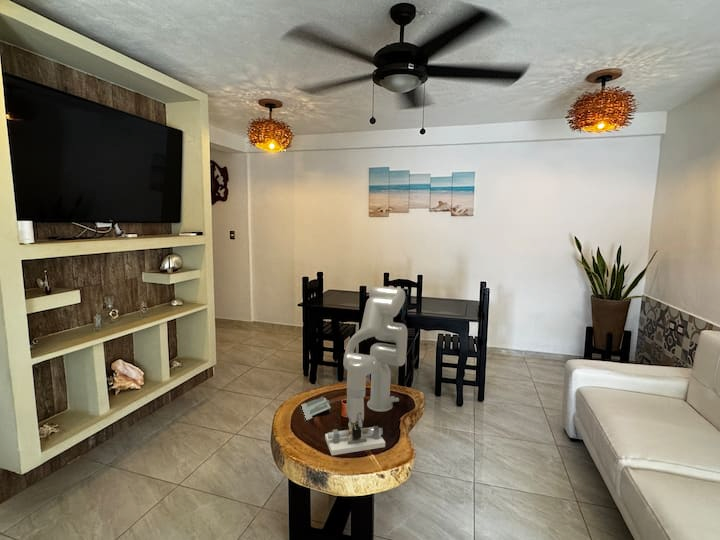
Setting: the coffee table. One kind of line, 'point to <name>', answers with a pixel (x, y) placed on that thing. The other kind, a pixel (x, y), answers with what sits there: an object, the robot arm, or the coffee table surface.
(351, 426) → the coupler
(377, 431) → the left shaft
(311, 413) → the metal bracket
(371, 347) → the robot arm
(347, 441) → the shaft mount
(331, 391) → the coffee table surface
